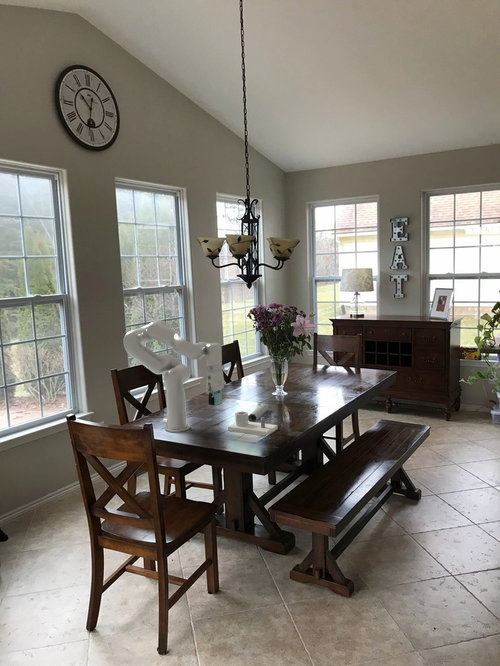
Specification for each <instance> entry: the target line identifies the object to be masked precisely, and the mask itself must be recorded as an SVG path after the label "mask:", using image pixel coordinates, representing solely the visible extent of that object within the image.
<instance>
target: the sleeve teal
mask: <svg viewBox="0 0 500 666" xmlns="http://www.w3.org/2000/svg"><path fill="white" fill-rule="evenodd" d="M211 394H212V392H211ZM222 394H223V391H222V392H221V391H216V392H214V400H215V405H211V406H213V407H215V406H217V407H218V406H221V405H222V403H223V399H222V397H223V396H222Z"/></svg>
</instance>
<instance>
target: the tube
mask: <svg viewBox="0 0 500 666" xmlns="http://www.w3.org/2000/svg"><path fill="white" fill-rule="evenodd" d="M268 410H269V407H268V404H267V403H263V402H262V403H261V404H260V405H258V407H256V408H255V409H254V410H253V411H252V412H251V413H250V414H248V422H256V423H258V421H259V419H261V417H263V415H264V414H265V413H266V412H267V411H268Z"/></svg>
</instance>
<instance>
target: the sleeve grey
mask: <svg viewBox="0 0 500 666" xmlns="http://www.w3.org/2000/svg"><path fill="white" fill-rule="evenodd" d="M234 415H235V416H234V417H235V423H236V426H240V427H242V426H247V425H248V422H249V421H248V415H249V413H248V412H247V411H237V412H235V413H234Z"/></svg>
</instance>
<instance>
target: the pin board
mask: <svg viewBox="0 0 500 666" xmlns="http://www.w3.org/2000/svg"><path fill="white" fill-rule="evenodd" d="M277 430H278V425H277V424H271V423H266V418H265V417H264V416H261V417H260V422H249V421H248V425H247V426H242V427H240V426H236V422H234V423H232V424H230V425H228V426H227V432H233V433H234V432H235V433H242V434H251V435H256V436H264V437H267V436H269V435H270V434H272V433H274V432H275V431H277Z"/></svg>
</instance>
